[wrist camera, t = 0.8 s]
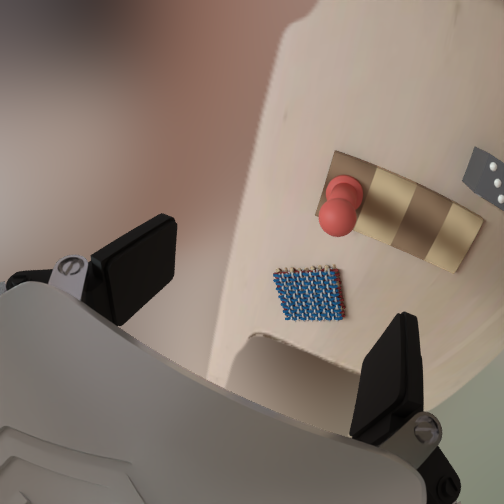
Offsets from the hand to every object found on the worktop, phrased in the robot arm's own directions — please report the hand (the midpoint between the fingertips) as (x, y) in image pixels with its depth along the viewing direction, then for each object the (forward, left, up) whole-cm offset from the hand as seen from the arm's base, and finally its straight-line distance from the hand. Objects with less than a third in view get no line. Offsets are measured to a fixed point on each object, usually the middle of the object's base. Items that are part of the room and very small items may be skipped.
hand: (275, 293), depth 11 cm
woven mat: (+22, +2, -28) cm, 36 cm away
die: (-6, +18, -28) cm, 34 cm away
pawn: (+4, +1, -26) cm, 27 cm away
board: (+4, +10, -27) cm, 29 cm away
